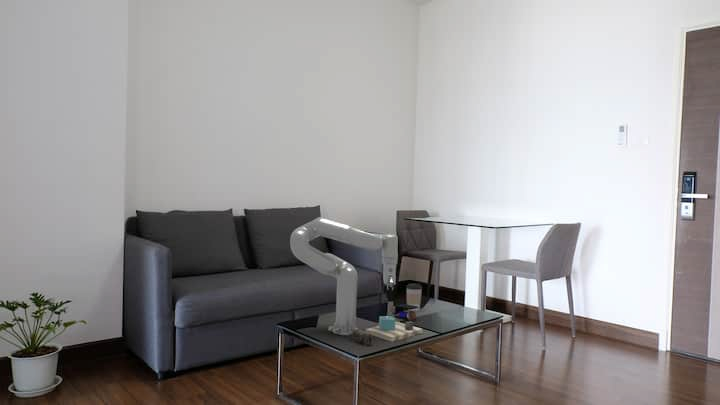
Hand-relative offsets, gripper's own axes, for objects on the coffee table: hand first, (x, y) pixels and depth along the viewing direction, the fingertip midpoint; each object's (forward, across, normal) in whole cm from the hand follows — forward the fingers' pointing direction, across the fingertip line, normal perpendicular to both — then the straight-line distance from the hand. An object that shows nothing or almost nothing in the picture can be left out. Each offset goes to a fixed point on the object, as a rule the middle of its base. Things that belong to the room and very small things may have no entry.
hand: (388, 295), depth 246 cm
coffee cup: (+18, +47, -22) cm, 55 cm away
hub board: (+18, -1, -3) cm, 18 cm away
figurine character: (+18, +28, -13) cm, 36 cm away
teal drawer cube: (+16, 0, 0) cm, 16 cm away
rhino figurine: (+18, -16, +14) cm, 28 cm away
